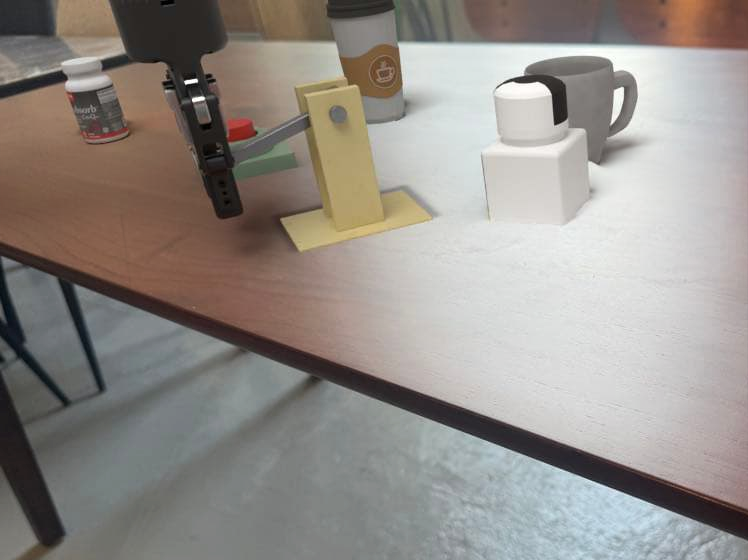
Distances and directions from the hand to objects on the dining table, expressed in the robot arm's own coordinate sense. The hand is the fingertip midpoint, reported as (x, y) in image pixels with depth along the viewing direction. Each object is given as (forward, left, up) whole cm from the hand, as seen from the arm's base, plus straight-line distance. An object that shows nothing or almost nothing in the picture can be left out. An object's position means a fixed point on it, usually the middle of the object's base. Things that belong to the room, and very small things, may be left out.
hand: (225, 205), depth 73 cm
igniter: (+5, +26, -5) cm, 27 cm away
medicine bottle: (+26, -8, -5) cm, 27 cm away
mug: (+37, +4, -5) cm, 37 cm away
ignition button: (+5, +26, -1) cm, 26 cm away
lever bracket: (+11, 0, -5) cm, 12 cm away
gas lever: (+6, 0, +4) cm, 7 cm away
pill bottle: (-9, +55, -5) cm, 56 cm away
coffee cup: (+24, +37, -5) cm, 44 cm away
